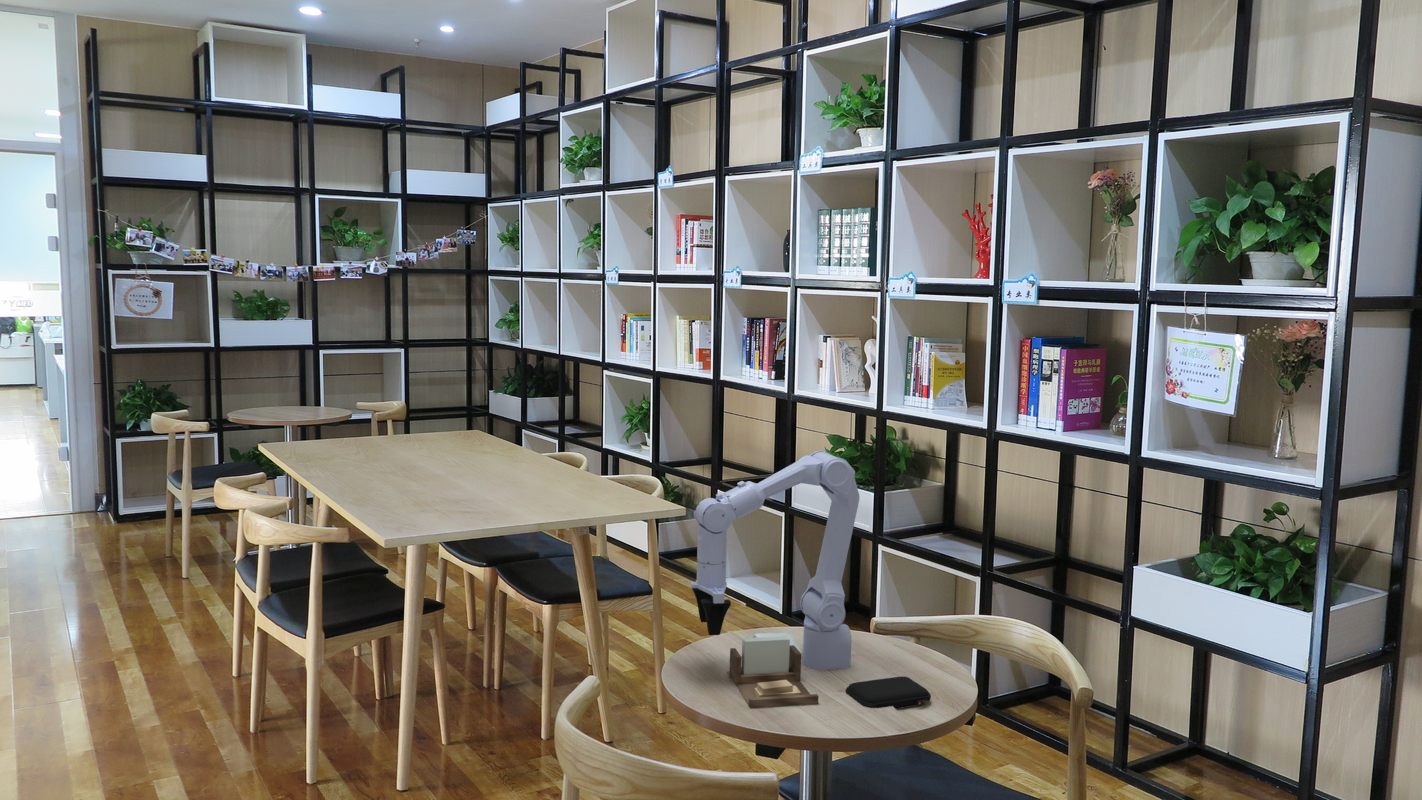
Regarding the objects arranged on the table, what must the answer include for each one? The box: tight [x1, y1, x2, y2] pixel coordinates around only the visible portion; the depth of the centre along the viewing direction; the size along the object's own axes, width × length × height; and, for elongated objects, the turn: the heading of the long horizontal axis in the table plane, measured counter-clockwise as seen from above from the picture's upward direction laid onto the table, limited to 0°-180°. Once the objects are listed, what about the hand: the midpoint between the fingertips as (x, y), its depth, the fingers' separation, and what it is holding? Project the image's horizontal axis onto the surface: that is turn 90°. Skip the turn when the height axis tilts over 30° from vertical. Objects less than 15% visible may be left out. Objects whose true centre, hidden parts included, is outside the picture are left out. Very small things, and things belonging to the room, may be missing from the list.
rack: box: [726, 645, 820, 709], centre depth 204 cm, size 13×18×6 cm
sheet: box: [741, 636, 790, 675], centre depth 208 cm, size 9×2×8 cm, turn 103°
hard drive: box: [753, 632, 803, 653], centre depth 230 cm, size 2×8×12 cm
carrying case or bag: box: [845, 676, 932, 710], centre depth 202 cm, size 11×3×15 cm
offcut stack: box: [754, 680, 801, 698], centre depth 200 cm, size 8×4×2 cm, turn 103°
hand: (710, 628), depth 210 cm, fingers open, 7 cm apart
